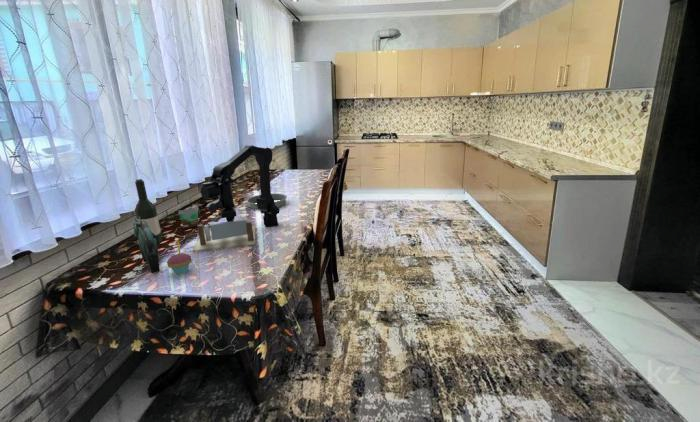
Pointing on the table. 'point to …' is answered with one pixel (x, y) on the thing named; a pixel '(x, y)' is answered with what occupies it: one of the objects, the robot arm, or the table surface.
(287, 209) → the table surface
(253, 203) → the cake pan
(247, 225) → the latch post
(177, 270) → the cupcake
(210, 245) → the base board
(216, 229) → the gate
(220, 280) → the table surface
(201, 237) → the hinge post
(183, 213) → the food container
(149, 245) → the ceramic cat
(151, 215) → the wine bottle
